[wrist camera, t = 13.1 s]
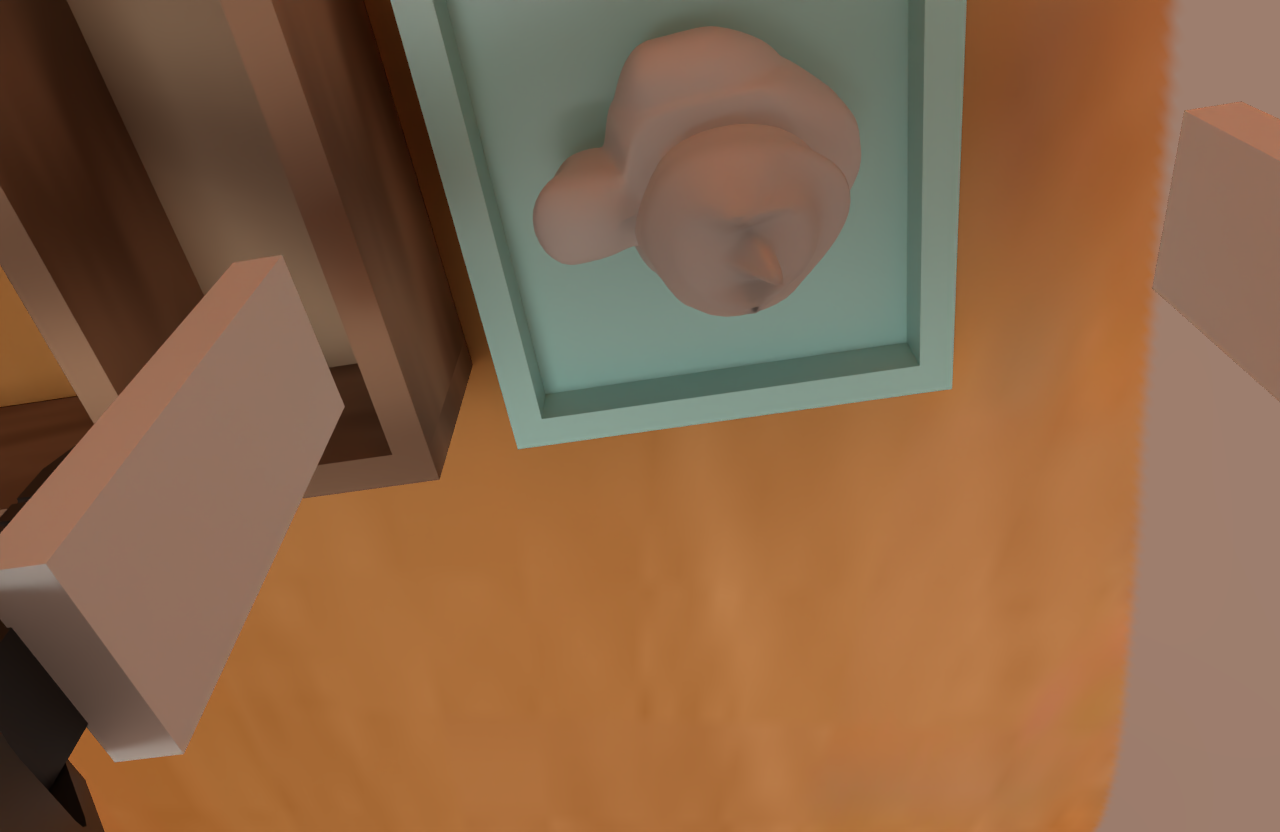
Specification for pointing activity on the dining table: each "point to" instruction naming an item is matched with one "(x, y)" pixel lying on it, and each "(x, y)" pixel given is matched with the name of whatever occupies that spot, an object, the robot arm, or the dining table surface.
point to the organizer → (219, 213)
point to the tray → (622, 283)
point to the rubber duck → (710, 172)
